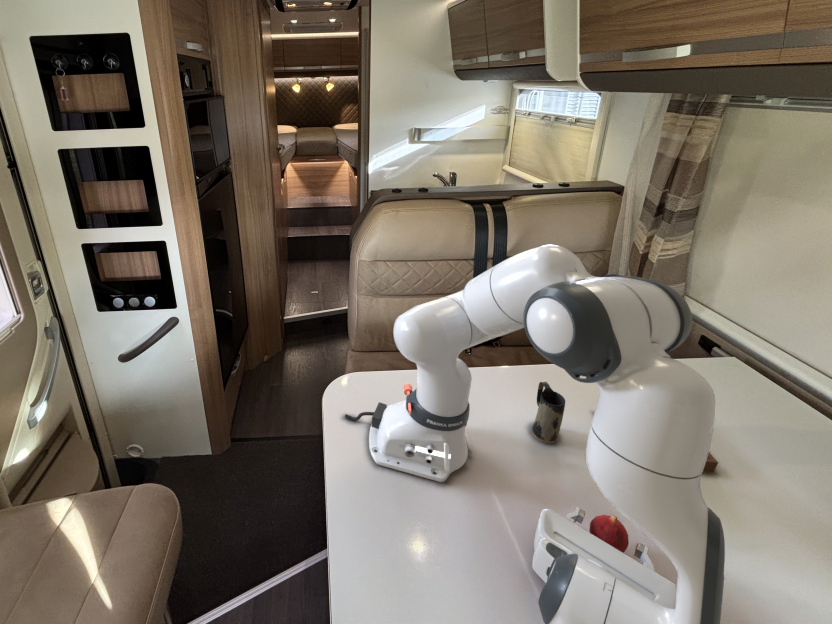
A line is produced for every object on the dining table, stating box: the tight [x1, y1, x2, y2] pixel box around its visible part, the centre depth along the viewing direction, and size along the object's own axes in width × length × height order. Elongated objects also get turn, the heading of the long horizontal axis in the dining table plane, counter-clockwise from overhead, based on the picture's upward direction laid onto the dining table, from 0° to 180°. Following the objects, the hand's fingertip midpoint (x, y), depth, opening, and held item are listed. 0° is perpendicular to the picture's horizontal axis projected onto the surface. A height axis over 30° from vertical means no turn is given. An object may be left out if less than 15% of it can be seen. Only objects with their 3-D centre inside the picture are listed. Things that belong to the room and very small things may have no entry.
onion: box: [589, 514, 630, 554], centre depth 76 cm, size 6×6×8 cm
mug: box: [531, 381, 566, 444], centre depth 100 cm, size 8×6×12 cm
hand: (610, 528), depth 76 cm, fingers open, 8 cm apart
